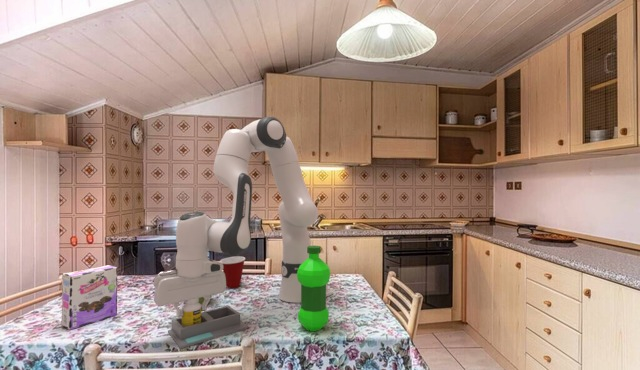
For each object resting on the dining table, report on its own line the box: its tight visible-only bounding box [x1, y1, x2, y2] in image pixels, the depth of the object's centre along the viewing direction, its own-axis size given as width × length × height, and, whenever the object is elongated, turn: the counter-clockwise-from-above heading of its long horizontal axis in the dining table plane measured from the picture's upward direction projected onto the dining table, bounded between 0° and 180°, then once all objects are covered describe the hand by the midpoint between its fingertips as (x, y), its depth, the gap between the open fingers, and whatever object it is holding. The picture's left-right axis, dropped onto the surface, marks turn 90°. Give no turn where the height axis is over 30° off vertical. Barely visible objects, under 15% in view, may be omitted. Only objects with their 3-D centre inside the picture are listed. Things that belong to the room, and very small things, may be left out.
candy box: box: [61, 264, 118, 330], centre depth 106 cm, size 14×6×16 cm, turn 148°
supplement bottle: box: [181, 298, 201, 327], centre depth 98 cm, size 5×5×10 cm
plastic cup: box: [219, 255, 246, 289], centre depth 142 cm, size 11×11×12 cm
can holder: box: [167, 305, 250, 349], centre depth 99 cm, size 20×12×4 cm, turn 130°
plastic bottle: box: [297, 245, 331, 332], centre depth 102 cm, size 10×10×25 cm
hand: (191, 313), depth 98 cm, fingers closed on supplement bottle, 5 cm apart
